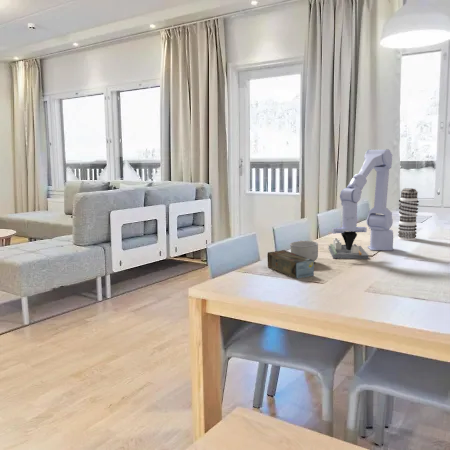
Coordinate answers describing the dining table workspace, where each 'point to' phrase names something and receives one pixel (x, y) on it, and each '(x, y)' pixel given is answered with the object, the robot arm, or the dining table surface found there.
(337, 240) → the breaker
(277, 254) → the beverage carton
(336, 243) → the breaker
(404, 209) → the decorative candle
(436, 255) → the dining table surface
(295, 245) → the teacup
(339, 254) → the panel
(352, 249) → the breaker
